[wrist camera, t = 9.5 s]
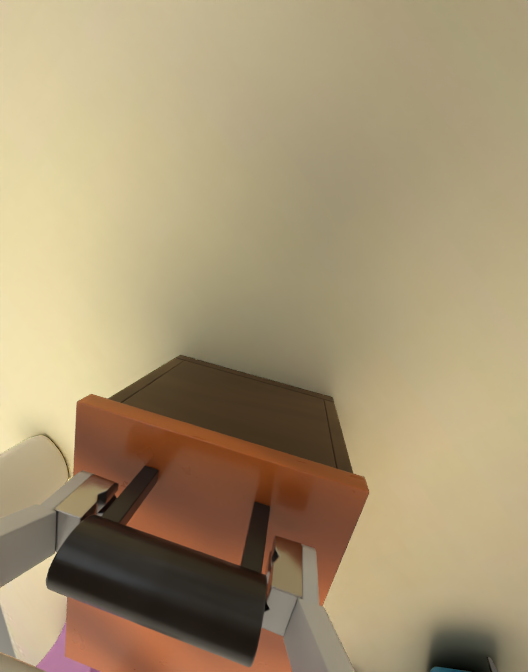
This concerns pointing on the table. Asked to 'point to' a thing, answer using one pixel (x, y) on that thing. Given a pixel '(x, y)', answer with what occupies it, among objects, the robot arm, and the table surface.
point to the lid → (189, 543)
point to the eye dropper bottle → (30, 474)
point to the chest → (243, 408)
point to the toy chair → (61, 659)
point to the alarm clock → (447, 671)
